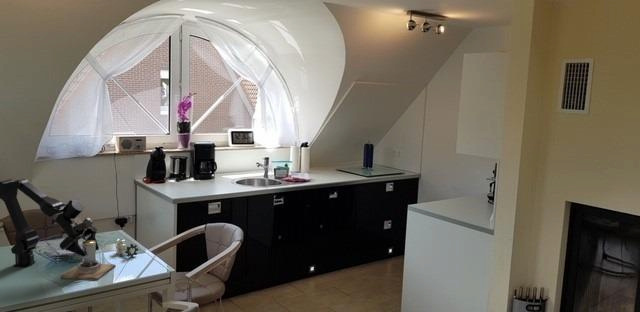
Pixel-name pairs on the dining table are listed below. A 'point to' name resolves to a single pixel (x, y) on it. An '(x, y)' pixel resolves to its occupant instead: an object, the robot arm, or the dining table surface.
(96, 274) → the flange board
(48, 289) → the dining table surface
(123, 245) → the valve
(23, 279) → the dining table surface
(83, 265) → the gray can
